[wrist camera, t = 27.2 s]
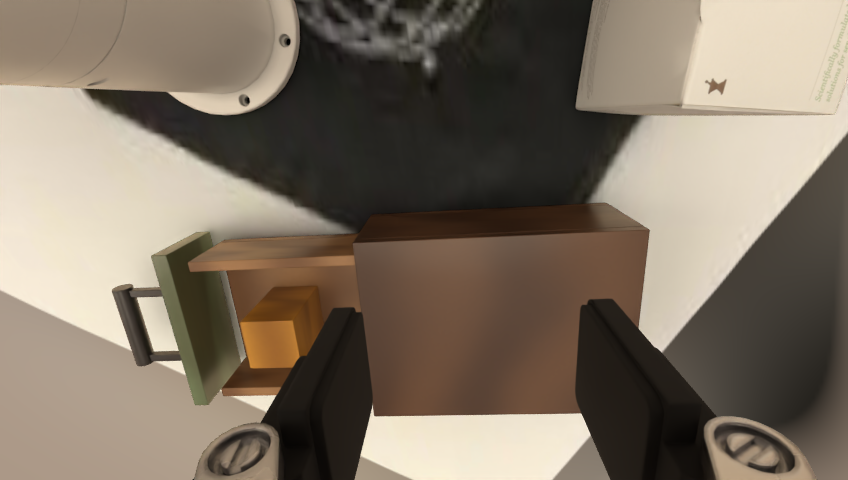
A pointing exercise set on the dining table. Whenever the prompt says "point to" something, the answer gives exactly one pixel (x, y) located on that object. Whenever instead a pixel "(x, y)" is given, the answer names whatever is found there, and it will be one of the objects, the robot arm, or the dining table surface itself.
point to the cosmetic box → (715, 57)
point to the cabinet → (489, 303)
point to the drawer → (249, 282)
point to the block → (282, 326)
